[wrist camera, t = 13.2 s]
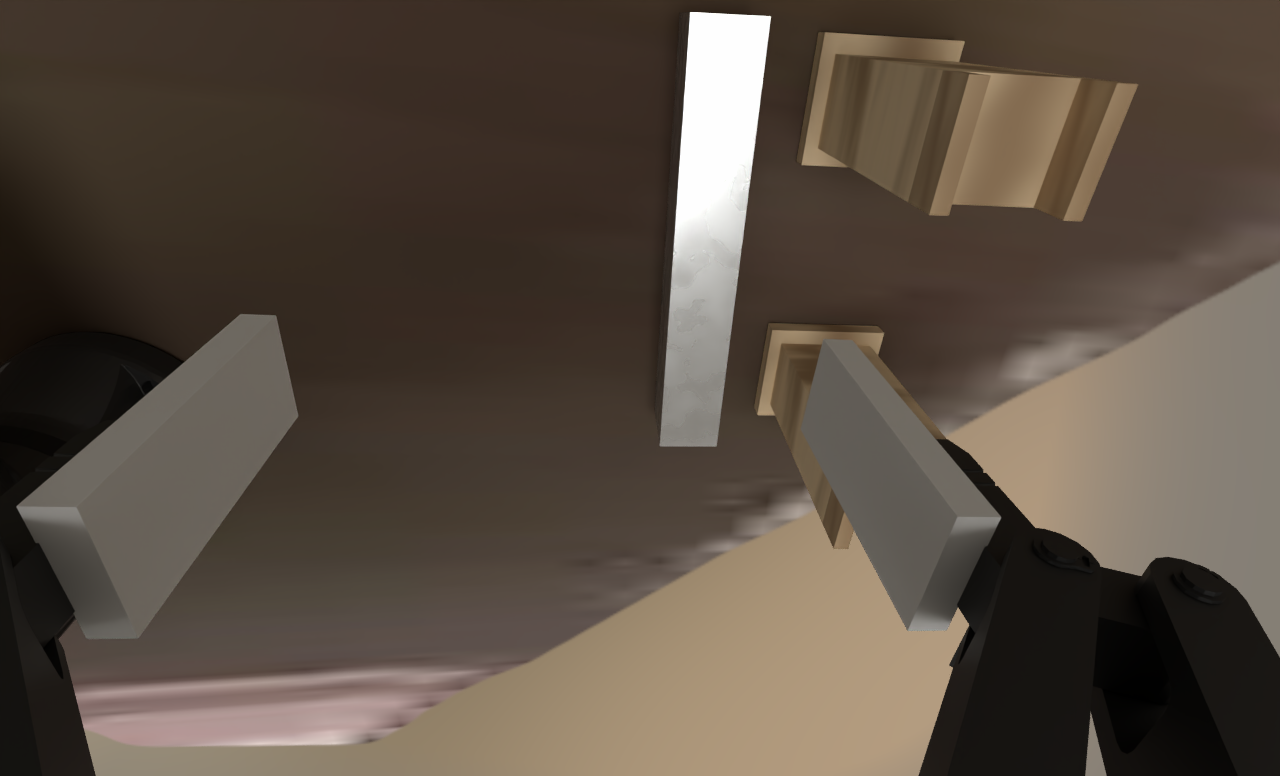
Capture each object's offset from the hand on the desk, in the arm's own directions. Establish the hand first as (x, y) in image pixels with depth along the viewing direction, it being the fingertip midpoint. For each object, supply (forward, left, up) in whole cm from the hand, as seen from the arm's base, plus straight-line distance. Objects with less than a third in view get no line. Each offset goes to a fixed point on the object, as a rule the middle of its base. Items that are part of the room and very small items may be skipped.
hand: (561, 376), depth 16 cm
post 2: (+17, +4, -27) cm, 32 cm away
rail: (+7, -5, -27) cm, 28 cm away
